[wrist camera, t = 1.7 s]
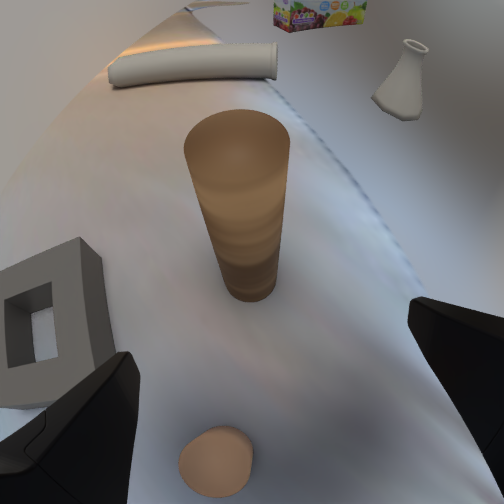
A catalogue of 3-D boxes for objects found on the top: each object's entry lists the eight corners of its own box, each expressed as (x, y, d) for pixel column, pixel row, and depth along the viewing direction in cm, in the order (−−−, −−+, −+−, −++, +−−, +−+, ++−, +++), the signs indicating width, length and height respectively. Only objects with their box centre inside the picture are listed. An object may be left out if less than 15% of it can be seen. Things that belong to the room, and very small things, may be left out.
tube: (97, 78, 33) (275, 61, 31) (108, 52, 34) (277, 35, 32) (112, 96, 38) (276, 87, 36) (121, 72, 39) (277, 60, 37)
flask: (429, 114, 33) (452, 57, 24) (404, 129, 31) (429, 63, 22) (390, 86, 35) (406, 30, 26) (361, 97, 34) (375, 33, 25)
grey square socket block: (125, 393, 19) (100, 392, 16) (22, 409, 18) (-7, 406, 14) (101, 257, 25) (79, 236, 21) (11, 292, 23) (-14, 277, 20)
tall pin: (283, 292, 23) (307, 163, 10) (233, 309, 22) (196, 195, 10) (265, 247, 24) (267, 101, 12) (218, 262, 24) (176, 124, 11)
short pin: (261, 467, 17) (260, 488, 12) (207, 480, 17) (192, 502, 12) (242, 419, 19) (236, 427, 14) (189, 433, 18) (168, 444, 14)
